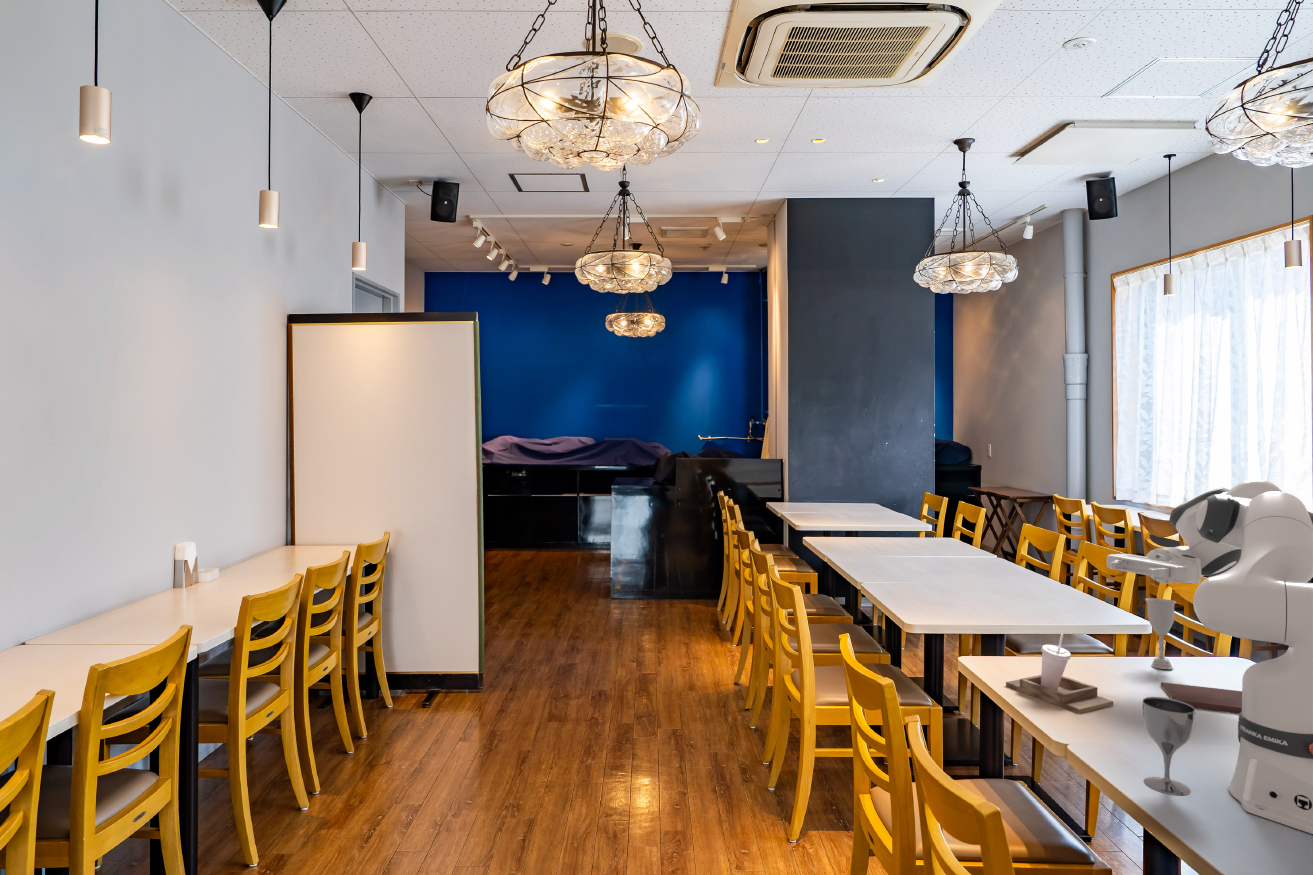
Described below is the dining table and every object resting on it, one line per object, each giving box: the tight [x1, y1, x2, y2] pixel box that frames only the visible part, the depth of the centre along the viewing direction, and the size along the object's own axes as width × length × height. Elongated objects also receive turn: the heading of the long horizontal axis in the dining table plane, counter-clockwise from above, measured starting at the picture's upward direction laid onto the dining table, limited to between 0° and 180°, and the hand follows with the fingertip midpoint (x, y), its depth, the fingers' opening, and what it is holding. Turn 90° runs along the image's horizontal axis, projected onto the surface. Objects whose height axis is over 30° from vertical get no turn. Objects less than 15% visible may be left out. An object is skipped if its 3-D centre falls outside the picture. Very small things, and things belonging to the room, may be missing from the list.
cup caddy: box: [1005, 674, 1114, 714], centre depth 186 cm, size 20×12×3 cm, turn 25°
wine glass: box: [1141, 696, 1196, 796], centre depth 139 cm, size 8×8×15 cm
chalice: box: [1144, 597, 1177, 670], centre depth 208 cm, size 7×7×18 cm
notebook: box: [1160, 681, 1242, 715], centre depth 182 cm, size 15×20×2 cm
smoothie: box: [1040, 633, 1071, 690], centre depth 187 cm, size 6×6×14 cm
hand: (1131, 569), depth 191 cm, fingers open, 8 cm apart
